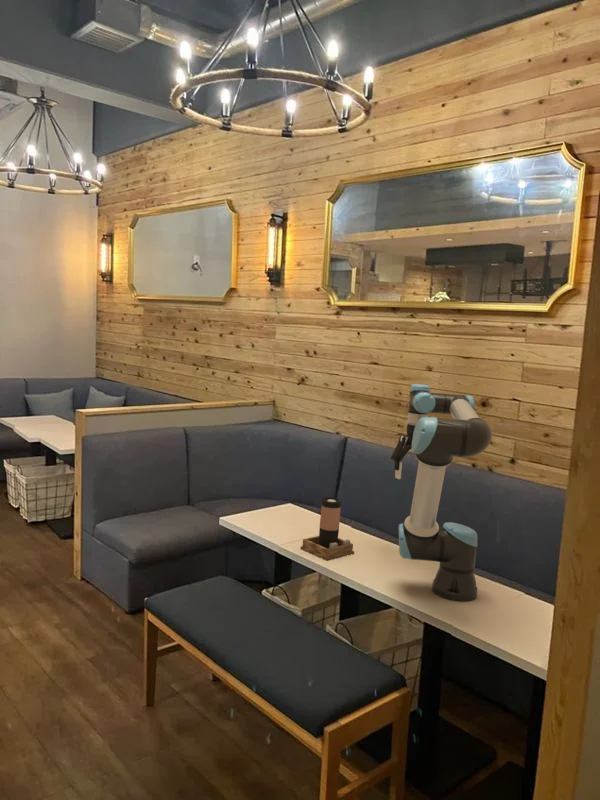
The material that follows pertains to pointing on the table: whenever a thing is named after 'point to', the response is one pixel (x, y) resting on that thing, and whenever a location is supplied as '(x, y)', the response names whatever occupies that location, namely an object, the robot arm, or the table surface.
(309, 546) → the tray
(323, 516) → the travel mug
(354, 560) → the table surface
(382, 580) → the table surface
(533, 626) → the table surface
